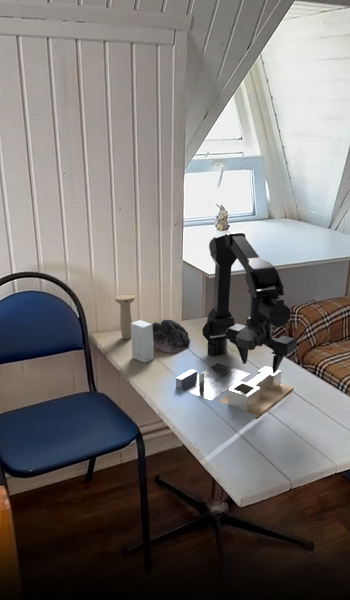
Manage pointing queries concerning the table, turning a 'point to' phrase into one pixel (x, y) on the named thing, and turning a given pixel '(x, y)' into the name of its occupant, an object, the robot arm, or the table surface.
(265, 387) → the white open-top bracket
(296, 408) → the table surface
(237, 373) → the plate
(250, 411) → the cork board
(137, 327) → the skincare box
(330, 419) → the table surface
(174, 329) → the crystal cluster
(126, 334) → the handle
